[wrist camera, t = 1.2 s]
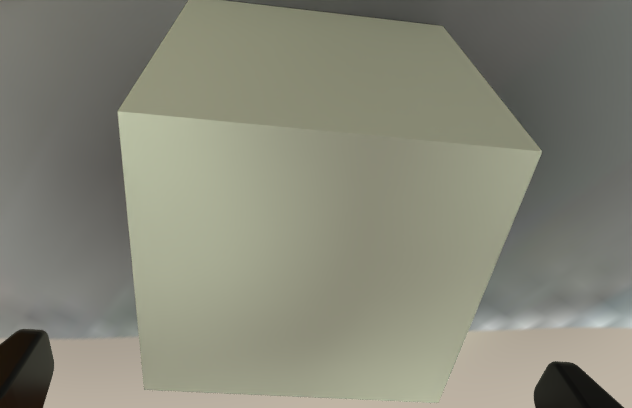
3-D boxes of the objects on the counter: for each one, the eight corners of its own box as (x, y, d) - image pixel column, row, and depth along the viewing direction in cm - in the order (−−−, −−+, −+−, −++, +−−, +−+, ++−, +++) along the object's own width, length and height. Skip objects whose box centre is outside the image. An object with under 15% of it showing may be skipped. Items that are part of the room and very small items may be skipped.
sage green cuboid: (442, 26, 16) (542, 151, 10) (392, 223, 20) (438, 402, 14) (191, -4, 15) (117, 111, 9) (193, 208, 20) (143, 389, 13)
